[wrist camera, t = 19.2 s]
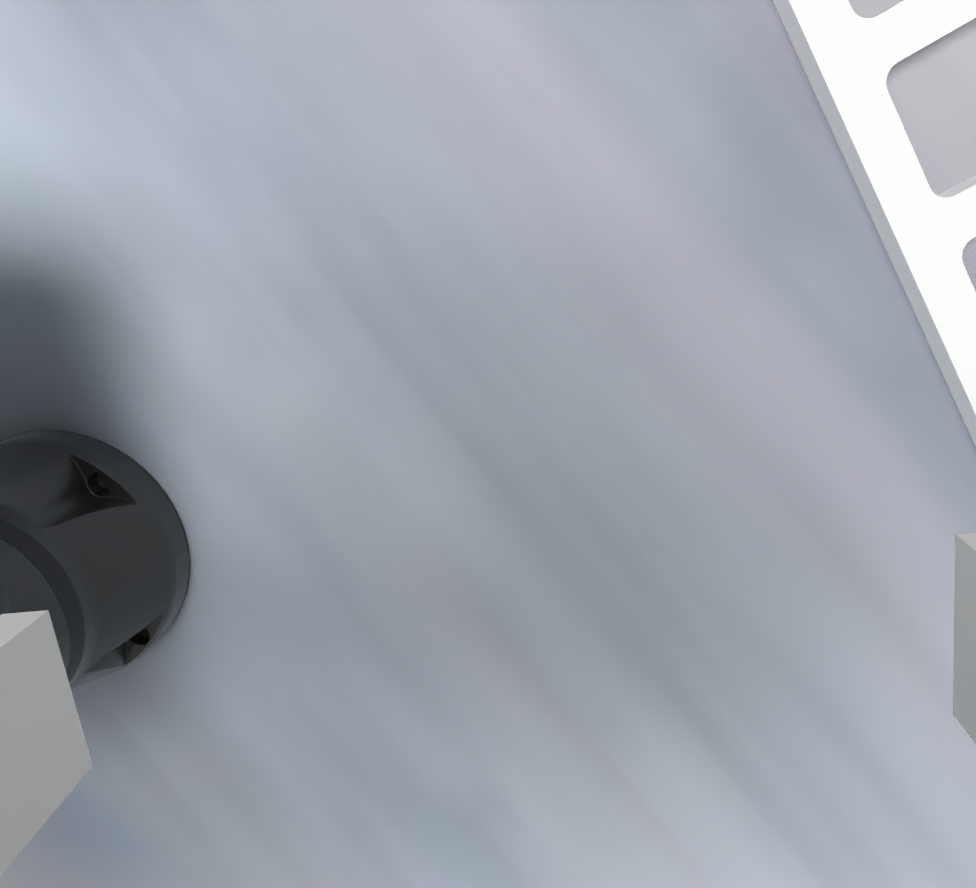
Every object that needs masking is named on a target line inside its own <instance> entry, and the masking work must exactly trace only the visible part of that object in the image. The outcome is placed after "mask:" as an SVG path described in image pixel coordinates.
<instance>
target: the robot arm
mask: <svg viewBox="0 0 976 888" xmlns="http://www.w3.org/2000/svg"><path fill="white" fill-rule="evenodd" d="M188 579H189V554H188V547H187V542H186V538H185V534H184V531H183V528H182V525H181V522H180V520H179V518H178V515H177V513H176V511H175V509H174V507H173V506H172V504H171V502H170V501H169V499H168V497H167V496H166V495H165V493H164V492H163V490H162V489H161V488H160V487H159V485H158V484H157V483H156V482H155V481H154V479H153V478H152V477H151V476H150V475H149V474H148V473H147V472H146V471H145V470H144V469H143V468H141V467H140V466H139V465H138V464H137V463H135V462H134V461H133V460H131V459H130V458H129V457H127V456H126V455H124V454H123V453H121V452H120V451H118V450H116V449H114V448H113V447H111V446H109V445H107V444H104V443H102V442H100V441H97V440H95V439H92V438H89V437H86V436H83V435H79V434H74V433H69V432H61V431H35V432H29V433H24V434H20V435H16V436H13V437H10V438H8V439H5V440H3V441H0V876H1V875H2V873H3V872H4V871H5V870H6V869H7V867H8V866H9V865H10V864H11V863H12V861H13V860H14V859H15V858H16V857H17V856H18V854H19V853H20V852H21V851H22V850H23V849H24V847H25V846H26V845H27V844H28V843H29V841H30V840H31V839H32V838H33V837H34V835H35V834H36V833H37V832H38V831H39V829H40V828H41V827H42V826H43V825H44V824H45V822H46V821H47V820H48V819H49V817H51V815H52V814H53V813H54V812H55V810H56V809H57V808H58V807H59V806H60V805H61V803H62V802H63V801H64V800H65V799H66V797H67V796H68V795H69V794H70V793H71V792H72V790H73V789H74V788H75V787H76V786H77V784H78V783H79V782H80V781H81V780H82V779H83V777H84V776H85V775H86V774H87V773H88V771H89V770H90V769H91V768H92V767H93V765H92V761H91V758H90V754H89V751H88V747H87V744H86V740H85V737H84V733H83V730H82V726H81V723H80V719H79V716H78V712H77V709H76V705H75V702H74V698H73V695H72V691H71V689H72V688H74V687H77V686H79V685H82V684H84V683H87V682H89V681H92V680H95V679H97V678H100V677H102V676H105V675H107V674H110V673H112V672H115V671H117V670H119V669H121V668H123V667H125V666H127V665H128V664H130V663H131V662H133V661H134V660H136V659H137V658H138V657H140V656H141V655H142V654H143V653H145V652H146V651H147V650H148V649H149V648H150V647H151V646H152V645H153V644H154V643H155V642H156V641H157V639H158V638H159V637H160V636H161V635H162V634H163V633H164V632H165V631H166V630H167V629H168V627H169V626H170V625H171V623H172V622H173V621H174V619H175V617H176V616H177V614H178V612H179V610H180V608H181V606H182V603H183V601H184V598H185V594H186V591H187V586H188ZM953 715H954V716H955V717H956V719H957V720H958V721H959V722H960V724H961V725H962V726H963V728H964V729H965V730H966V732H967V733H968V734H969V735H970V737H971V738H972V739H973V741H974V742H975V743H976V532H972V533H960V534H955V603H954V674H953Z"/></svg>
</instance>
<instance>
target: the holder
mask: <svg viewBox="0 0 976 888" xmlns="http://www.w3.org/2000/svg"><path fill="white" fill-rule="evenodd" d="M773 3H774V5H775V7H776V9H777V11H778V14H779V16H780V18H781V20H782V22H783V25H784V27H785V29H786V31H787V33H788V36H789V38H790V40H791V42H792V44H793V47H794V49H795V51H796V53H797V55H798V58H799V60H800V62H801V64H802V66H803V69H804V71H805V73H806V75H807V77H808V80H809V82H810V84H811V86H812V88H813V91H814V93H815V95H816V97H817V99H818V102H819V104H820V106H821V108H822V110H823V113H824V115H825V117H826V119H827V121H828V124H829V126H830V128H831V130H832V132H833V134H834V137H835V139H836V141H837V143H838V145H839V148H840V150H841V152H842V154H843V156H844V159H845V161H846V163H847V165H848V167H849V170H850V172H851V174H852V176H853V178H854V181H855V183H856V185H857V187H858V189H859V192H860V194H861V196H862V198H863V200H864V203H865V205H866V207H867V209H868V211H869V214H870V216H871V218H872V220H873V222H874V225H875V227H876V229H877V231H878V233H879V236H880V238H881V240H882V242H883V244H884V247H885V249H886V251H887V253H888V255H889V258H890V260H891V262H892V264H893V266H894V269H895V271H896V273H897V275H898V277H899V280H900V282H901V284H902V286H903V288H904V291H905V293H906V295H907V297H908V299H909V302H910V304H911V306H912V308H913V310H914V313H915V315H916V317H917V319H918V321H919V324H920V326H921V328H922V330H923V332H924V335H925V337H926V339H927V341H928V343H929V346H930V348H931V350H932V352H933V354H934V357H935V359H936V361H937V363H938V365H939V368H940V370H941V372H942V374H943V376H944V379H945V381H946V383H947V385H948V387H949V390H950V392H951V394H952V396H953V398H954V401H955V403H956V405H957V407H958V409H959V412H960V414H961V416H962V418H963V420H964V423H965V425H966V427H967V429H968V431H969V434H970V436H971V438H972V440H973V442H974V445H975V447H976V292H975V289H974V287H973V285H972V283H971V280H970V278H969V276H968V273H967V271H966V269H965V267H964V264H963V261H962V252H963V249H964V247H965V245H966V244H967V243H968V242H969V241H970V240H971V239H973V238H974V237H976V175H974V176H972V177H971V178H969V179H967V180H965V181H963V182H961V183H959V184H957V185H956V186H954V187H952V188H950V189H948V190H946V191H944V192H942V193H941V194H939V195H936V194H934V193H933V192H932V190H931V189H930V186H929V184H928V182H927V180H926V177H925V175H924V173H923V170H922V168H921V166H920V164H919V161H918V159H917V157H916V154H915V152H914V150H913V148H912V145H911V143H910V141H909V138H908V136H907V134H906V132H905V129H904V127H903V125H902V122H901V120H900V118H899V116H898V113H897V111H896V109H895V106H894V104H893V102H892V100H891V97H890V95H889V93H888V90H887V87H886V79H887V75H888V73H889V71H890V69H891V68H892V67H893V66H894V65H895V64H896V63H898V62H899V61H901V60H903V59H904V58H906V57H908V56H910V55H911V54H913V53H915V52H917V51H918V50H920V49H922V48H924V47H925V46H927V45H929V44H931V43H932V42H934V41H936V40H938V39H939V38H941V37H943V36H945V35H946V34H948V33H950V32H952V31H953V30H955V29H957V28H959V27H960V26H962V25H964V24H965V23H967V22H969V21H971V20H972V19H974V18H976V0H904V1H902V2H901V3H899V4H897V5H895V6H894V7H892V8H890V9H889V10H887V11H885V12H884V13H882V14H880V15H878V16H876V17H874V18H862V17H860V16H858V15H857V14H855V13H854V11H853V10H852V8H851V6H850V3H849V1H848V0H773Z"/></svg>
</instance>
